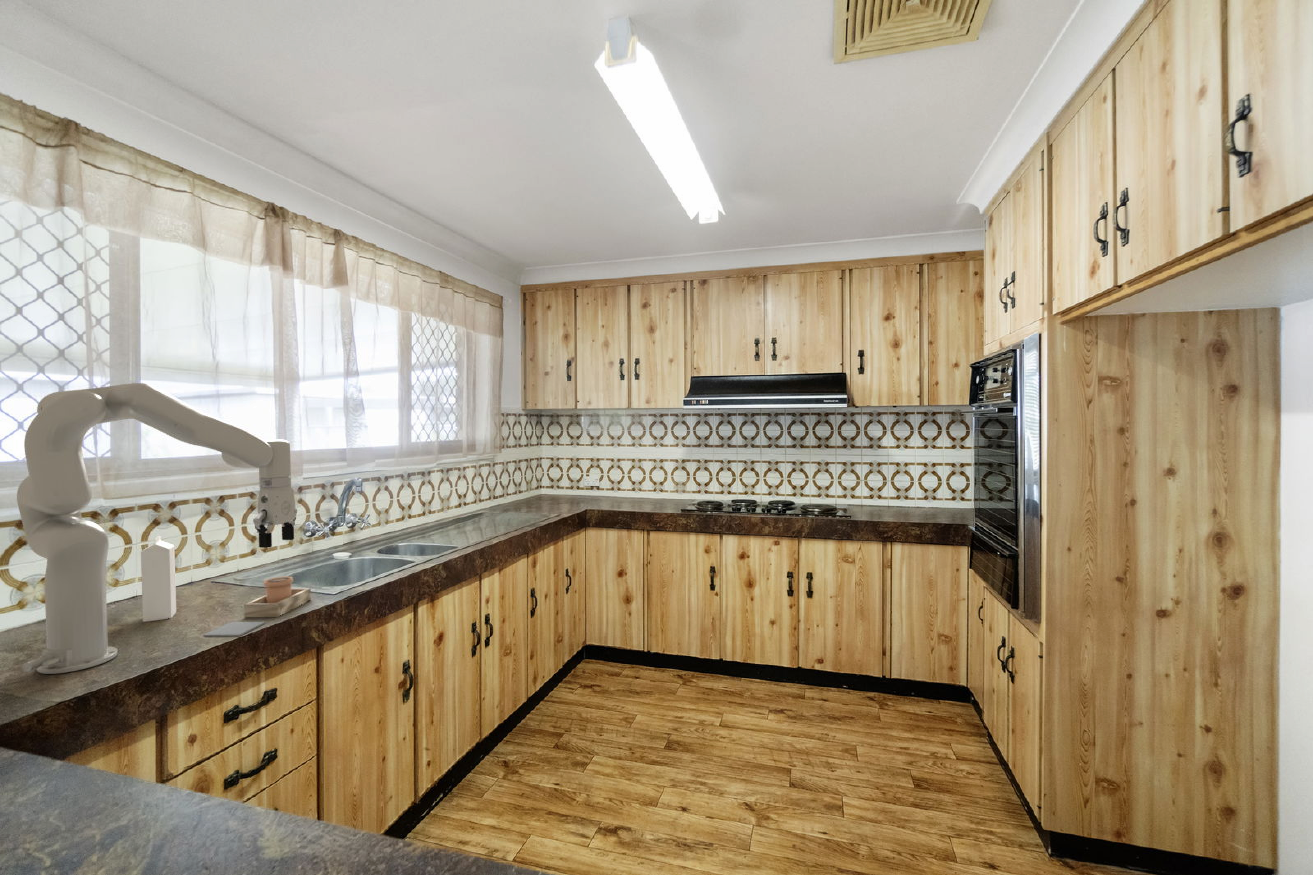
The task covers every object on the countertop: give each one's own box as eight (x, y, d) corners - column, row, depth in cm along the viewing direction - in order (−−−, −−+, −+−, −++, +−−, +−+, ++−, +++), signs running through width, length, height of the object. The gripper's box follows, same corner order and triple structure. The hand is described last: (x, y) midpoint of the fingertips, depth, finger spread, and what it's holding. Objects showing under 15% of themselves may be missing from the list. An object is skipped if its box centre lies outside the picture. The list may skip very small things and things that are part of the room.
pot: (283, 612, 161) (282, 583, 161) (258, 612, 161) (257, 583, 161) (299, 604, 168) (298, 576, 168) (275, 604, 168) (274, 576, 168)
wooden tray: (277, 617, 157) (277, 604, 157) (244, 617, 157) (244, 604, 157) (310, 600, 172) (310, 588, 172) (280, 600, 172) (280, 588, 172)
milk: (142, 622, 154) (139, 540, 153) (148, 615, 159) (145, 536, 158) (172, 618, 157) (168, 537, 156) (177, 611, 162) (174, 533, 161)
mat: (240, 636, 143) (240, 634, 143) (203, 636, 143) (203, 634, 143) (264, 623, 152) (264, 622, 152) (230, 623, 152) (230, 622, 152)
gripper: (268, 486, 155) (270, 550, 156) (307, 480, 172) (308, 537, 173) (240, 487, 155) (242, 550, 156) (281, 480, 172) (283, 537, 173)
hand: (277, 543), depth 164 cm, fingers open, 9 cm apart
